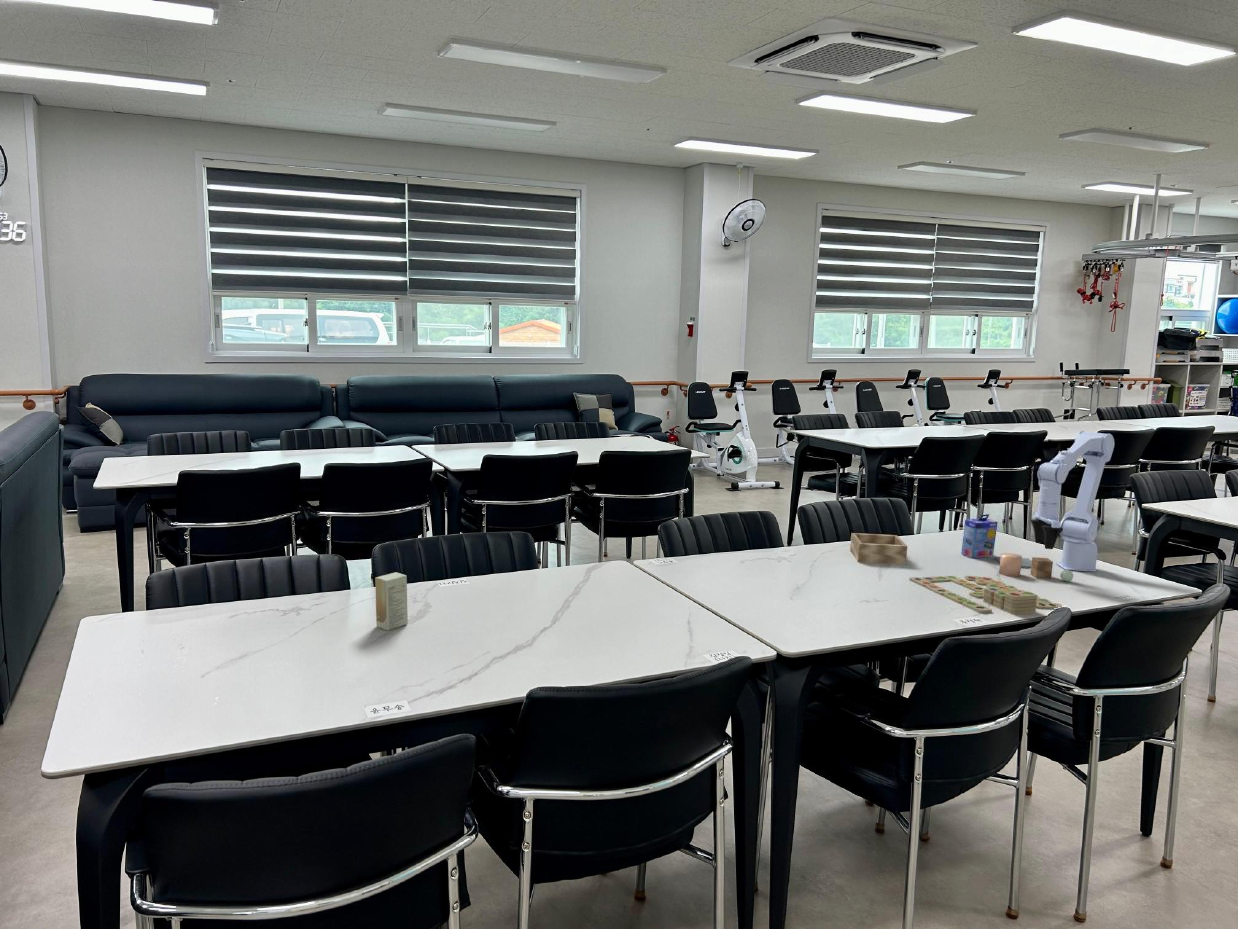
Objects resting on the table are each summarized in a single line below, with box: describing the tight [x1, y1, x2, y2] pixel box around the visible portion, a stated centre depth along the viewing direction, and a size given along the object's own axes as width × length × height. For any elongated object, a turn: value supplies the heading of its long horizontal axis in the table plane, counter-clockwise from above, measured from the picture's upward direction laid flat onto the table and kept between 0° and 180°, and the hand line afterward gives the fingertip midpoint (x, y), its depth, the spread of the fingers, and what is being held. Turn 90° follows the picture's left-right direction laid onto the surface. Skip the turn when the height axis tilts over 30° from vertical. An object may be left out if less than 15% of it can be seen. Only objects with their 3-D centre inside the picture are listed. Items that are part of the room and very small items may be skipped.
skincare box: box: [374, 572, 409, 631], centre depth 208 cm, size 6×4×12 cm
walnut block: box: [1030, 556, 1054, 580], centre depth 271 cm, size 4×4×6 cm
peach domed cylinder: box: [998, 552, 1023, 578], centre depth 273 cm, size 6×6×6 cm
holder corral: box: [849, 532, 908, 566], centre depth 288 cm, size 15×15×6 cm
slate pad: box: [993, 555, 1032, 569], centre depth 287 cm, size 11×11×1 cm
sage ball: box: [1059, 569, 1074, 583], centre depth 267 cm, size 4×4×4 cm
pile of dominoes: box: [908, 575, 1063, 615], centre depth 251 cm, size 35×27×6 cm
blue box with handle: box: [960, 513, 998, 559], centre depth 294 cm, size 10×6×14 cm, turn 114°
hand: (1044, 545), depth 270 cm, fingers open, 7 cm apart
